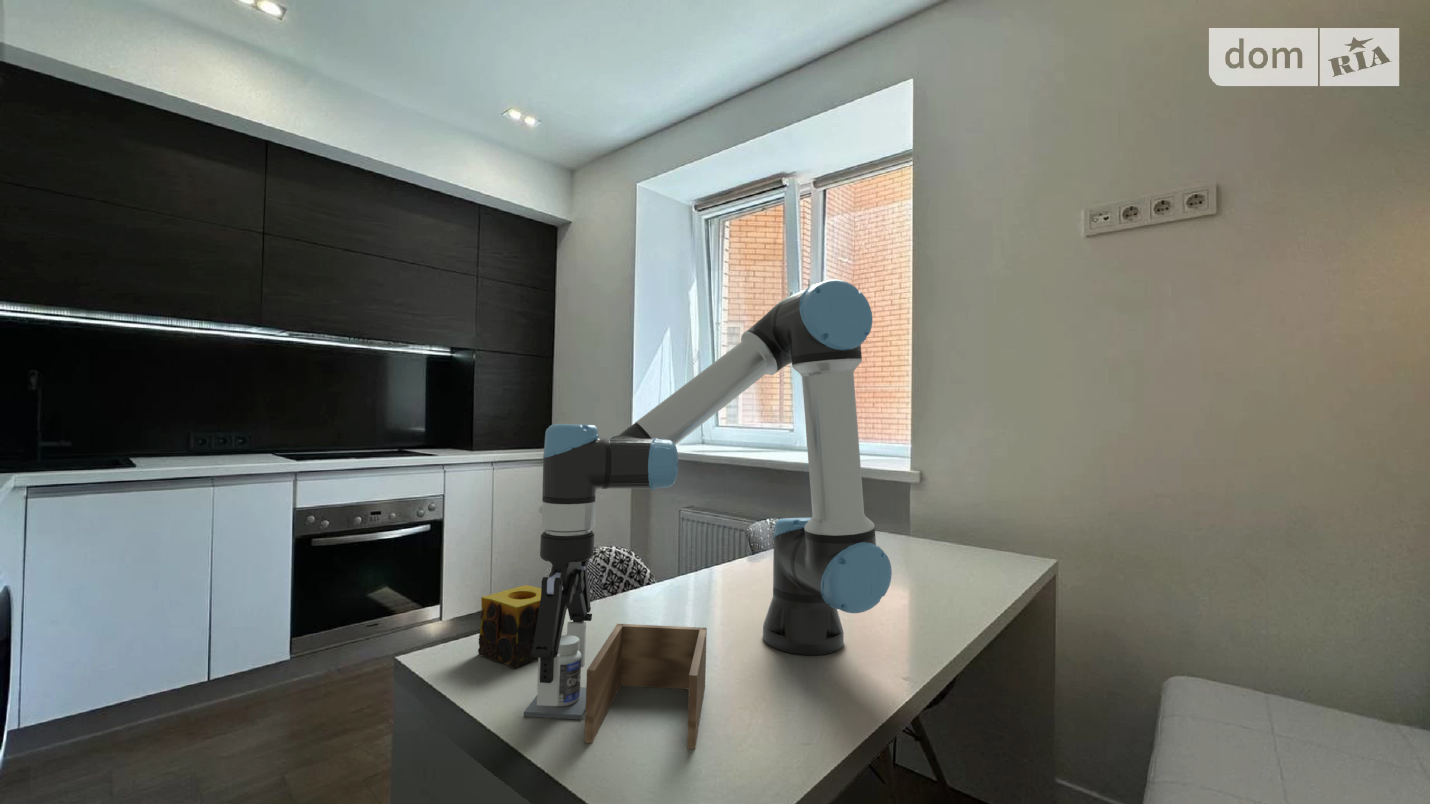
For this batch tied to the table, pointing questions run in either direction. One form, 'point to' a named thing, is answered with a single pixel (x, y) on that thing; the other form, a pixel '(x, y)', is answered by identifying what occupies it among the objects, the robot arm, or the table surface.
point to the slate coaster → (559, 709)
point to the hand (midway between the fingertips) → (562, 683)
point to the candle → (509, 625)
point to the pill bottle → (569, 670)
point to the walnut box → (647, 669)
